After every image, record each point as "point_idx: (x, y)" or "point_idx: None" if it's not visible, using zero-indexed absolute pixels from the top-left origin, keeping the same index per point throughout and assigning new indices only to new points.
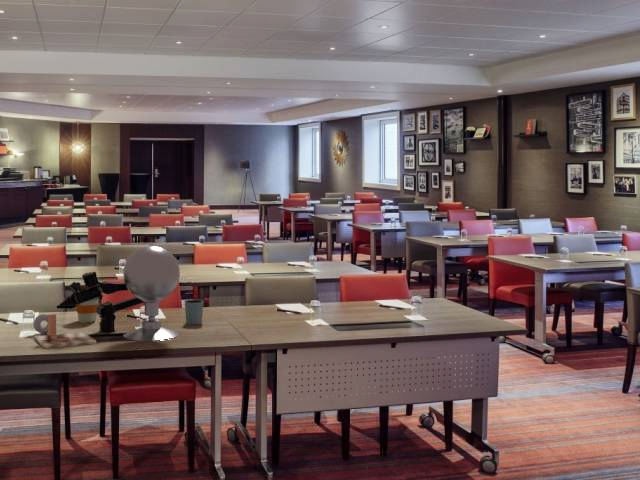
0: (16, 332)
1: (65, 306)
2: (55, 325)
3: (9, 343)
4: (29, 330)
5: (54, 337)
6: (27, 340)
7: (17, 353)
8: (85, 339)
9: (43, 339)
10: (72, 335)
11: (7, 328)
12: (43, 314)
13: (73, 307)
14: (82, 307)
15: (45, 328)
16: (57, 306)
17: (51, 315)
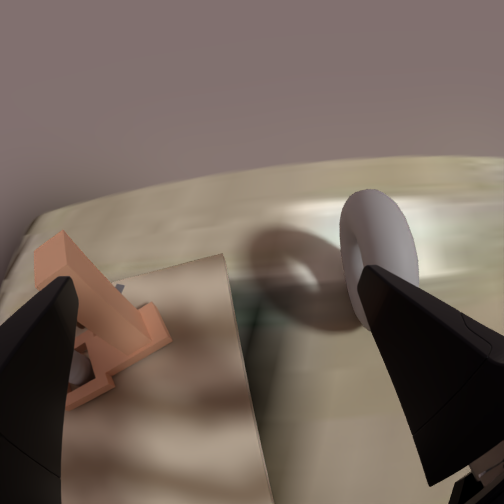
0: (389, 185)
1: (417, 395)
2: (89, 325)
3: (173, 191)
4: (437, 225)
5: (88, 341)
6: (203, 238)
7: (41, 235)
8: (70, 492)
9: (136, 298)
10: (187, 463)
11: (452, 160)
12: (375, 211)
13: (450, 501)
14: None
15: (356, 288)
16: (369, 277)
17: (37, 258)
